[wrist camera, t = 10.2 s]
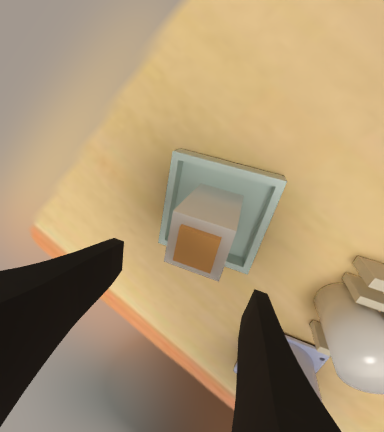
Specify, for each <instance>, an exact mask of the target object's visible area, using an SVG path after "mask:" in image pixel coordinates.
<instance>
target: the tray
mask: <svg viewBox="0 0 384 432" xmlns="http://www.w3.org/2000/svg"><path fill="white" fill-rule="evenodd" d="M201 183H202V184H205V185H209V186H212V187H216V188H219V189H222V190H226V191H229V192H233V193H236V194H240V195H243V196H244V197H243V202H242V207H241V212H240V217H239V222H238V227H237V231H236V234H235V237H234V240H233V243H232V246H231V248H230V251H229V254H228V257H227V260H226V263H225V267H228V268H231V269H234V270H236V271H239V272H242V273H245V274H248V272H249V270H250V268H251V265H252V263H253V261H254V258H255V256H256V254H257V251H258V249H259V246H260V244H261V242H262V239H263V237H264V235H265V232H266V230H267V228H268V225H269V223H270V221H271V218H272V216H273V214H274V211H275V209H276V207H277V204H278V202H279V200H280V197H281V195H282V192H283V190H284V188H285V185H286V183H287V180H286V178H285V177H284V176H283V175H279V174H275V173H271V172H268V171H264V170H260V169H256V168H252V167H249V166H245V165H241V164H237V163H234V162H230V161H226V160H222V159H218V158H215V157H211V156H207V155H203V154H200V153H196V152H192V151H188V150H184V149H177V150H174V151H173V153H172V159H171V165H170V172H169V178H168V184H167V191H166V197H165V203H164V210H163V216H162V222H161V229H160V235H159V241H158V243H160V244H163V245H166V246H167V242H168V236H169V231H170V225H171V220H172V214H173V210H174V209H175V208H176V207H177V206H178V205H179V204H180V203H181V202H182V201H183V200H184V199H185V198H186V197H187V196H188V195H189V194H190V193H192V192H193V191H194V190H195V189H196V188H197V187H198V186H199V185H200V184H201Z"/></svg>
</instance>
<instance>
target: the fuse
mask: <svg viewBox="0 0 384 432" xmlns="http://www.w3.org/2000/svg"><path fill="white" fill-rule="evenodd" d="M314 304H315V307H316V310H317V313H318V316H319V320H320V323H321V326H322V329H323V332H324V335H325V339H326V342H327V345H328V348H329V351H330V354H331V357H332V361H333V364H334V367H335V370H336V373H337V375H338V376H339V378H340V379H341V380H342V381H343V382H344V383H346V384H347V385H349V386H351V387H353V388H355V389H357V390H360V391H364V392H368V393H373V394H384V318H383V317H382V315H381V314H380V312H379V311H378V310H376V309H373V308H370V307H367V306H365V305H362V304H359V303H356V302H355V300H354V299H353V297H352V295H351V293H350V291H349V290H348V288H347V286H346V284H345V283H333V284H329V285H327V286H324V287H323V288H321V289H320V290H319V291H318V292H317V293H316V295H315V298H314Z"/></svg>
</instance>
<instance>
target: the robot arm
mask: <svg viewBox="0 0 384 432" xmlns="http://www.w3.org/2000/svg"><path fill="white" fill-rule="evenodd" d="M123 247H124V241H121V240H118V239H116V238H113V239H109V240H106V241H104V242H101V243H98V244H95V245H93V246H90V247H87V248H84V249H81V250H79V251H76V252H73V253H70V254H67V255H63V256H60V257H57V258H54V259H51V260H47V261H44V262H40V263H36V264H32V265H28V266H23V267H19V268H14V269H8V270H3V271H0V427H1V425H2V424H3V422H4V421H5V419H6V418H7V416H8V415H9V413H10V412H11V410H12V409H13V407H14V406H15V404H16V403H17V401H18V400H19V398H20V397H21V395H22V394H23V392H24V391H25V389H26V388H27V387H28V385H29V384H30V383H31V381H32V380H33V378H34V377H35V376H36V374H37V373H38V371H39V370H40V369H41V367H42V366H43V364H44V363H45V362H46V361H47V359H48V358H49V356H50V355H51V354H52V352H53V351H54V350H55V348H56V347H57V346H58V345H59V343H60V342H61V341H62V339H63V338H64V337H65V336H66V334H67V333H68V332H69V331H70V329H71V328H72V327H73V326H74V325H75V323H76V322H77V321H78V320H79V319H80V318H81V317H82V316H83V315H84V314H85V313H86V312H87V310H88V309H89V308H90V307H91V306H92V305H93V304H94V303H95V302H96V301H97V300H98V299H99V298H100V297H101V296H102V295H103V293H104V292H105V291H106V290H107V289H108V288H109V287H110V286H111V285H112V283H113V282H114V281H115V279H116V278H117V277H118V275H119V274H120V272H121V271H122V262H123ZM328 359H329V356H328V355H325V354H323V353H320V352H318V351H317V350H316V347H315V346H312V345H310V344H307V343H305V342H302V341H300V340H297V339H294V338H292V337H289V336H287V335H285V334H284V332H283V330H282V328H281V326H280V323H279V321H278V319H277V316H276V314H275V311H274V309H273V306H272V304H271V301H270V299H269V296H268V294H266V293H263V292H261V291H258V290H254V292H253V294H252V296H251V298H250V300H249V303H248V305H247V307H246V309H245V311H244V313H243V315H242V318H241V324H240V331H239V338H238V359H237V363H236V364H235V366H234V372H235V373H237V385H236V401H235V410H234V418H233V426H232V432H341V430H340V429H339V427H338V426H337V424H336V423H335V422H334V420H333V419H332V417H331V416H330V414H329V413H328V411H327V410H326V408H325V407H324V405H323V403H322V399H321V395H320V390H319V386H318V382H317V377H316V373H317V371H318V370H319V369H320V368H321V367H322V366H323V364H324V363H325V362H326V361H327V360H328Z"/></svg>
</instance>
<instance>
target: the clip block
mask: <svg viewBox="0 0 384 432" xmlns="http://www.w3.org/2000/svg"><path fill="white" fill-rule="evenodd" d="M352 264H353V266H354V267H355V269H356V270H357V272H358V273H359V275H360V276H361V277H359V276H356V275H353V274H350V273H347V272H346V273H345V275H344V276H343V277H342V279H343V281H344V282H345V284H346V286H347V288H348V290H349V291H350V293H351V295H352V297H353V299H354V300H355V302H356V303H359V304H362V305H365V306H367V307H370V308H373V309H376V310H379V311H381V312H380V314H381V315H382V317H383V318H384V293H383V292H384V264H383V263H380V262H376V261H373V260H370V259H367V258H364V257H360V256H357V257H356V259H355V260H354V262H353V263H352ZM310 327H311V331H312V335H313V339H314V343H315V346H316V350H317V351H318V352H320V353H323V354H325V355H328V356H330V357H331V354H330V351H329V348H328V345H327V342H326V339H325V335H324V332H323V329H322V326H321V323H320V322H317V321H314V320H312V322H311V323H310Z"/></svg>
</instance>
